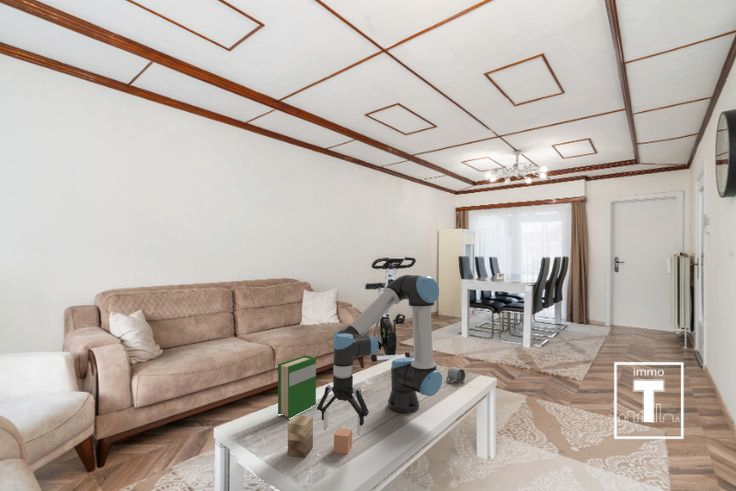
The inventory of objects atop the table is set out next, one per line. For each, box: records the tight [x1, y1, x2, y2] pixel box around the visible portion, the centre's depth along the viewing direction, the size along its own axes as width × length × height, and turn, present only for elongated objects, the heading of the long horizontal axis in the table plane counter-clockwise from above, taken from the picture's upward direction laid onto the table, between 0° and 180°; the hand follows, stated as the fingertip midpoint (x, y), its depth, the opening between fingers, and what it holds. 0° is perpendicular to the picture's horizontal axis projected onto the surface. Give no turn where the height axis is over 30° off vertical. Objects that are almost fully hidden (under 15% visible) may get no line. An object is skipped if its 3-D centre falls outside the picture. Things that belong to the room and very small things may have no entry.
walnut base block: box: [287, 432, 314, 459], centre depth 136 cm, size 7×7×6 cm
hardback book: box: [277, 354, 317, 419], centre depth 172 cm, size 18×7×24 cm, turn 146°
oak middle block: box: [287, 415, 314, 442], centre depth 137 cm, size 7×7×6 cm
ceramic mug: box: [445, 366, 466, 384], centre depth 212 cm, size 11×8×8 cm
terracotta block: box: [333, 427, 353, 455], centre depth 138 cm, size 6×6×6 cm
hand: (342, 431), depth 138 cm, fingers open, 13 cm apart
